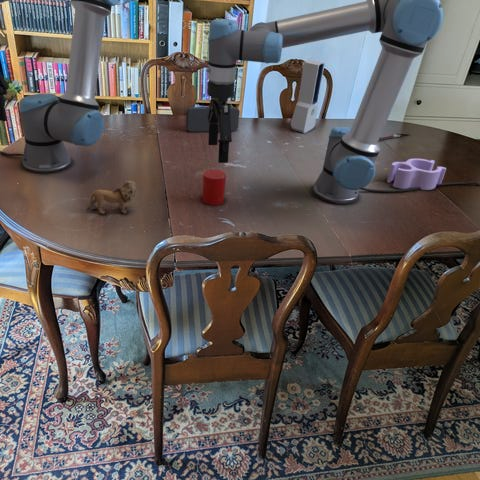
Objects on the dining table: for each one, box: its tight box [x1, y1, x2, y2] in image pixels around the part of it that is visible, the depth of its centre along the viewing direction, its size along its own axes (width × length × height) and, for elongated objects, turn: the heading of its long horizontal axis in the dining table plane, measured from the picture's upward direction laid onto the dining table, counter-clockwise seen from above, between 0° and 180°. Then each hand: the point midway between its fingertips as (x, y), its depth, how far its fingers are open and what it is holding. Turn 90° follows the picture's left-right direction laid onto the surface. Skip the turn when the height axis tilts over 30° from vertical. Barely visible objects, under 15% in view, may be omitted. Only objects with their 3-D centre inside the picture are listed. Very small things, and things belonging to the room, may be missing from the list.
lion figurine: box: [85, 180, 137, 215], centre depth 135 cm, size 15×5×9 cm, turn 110°
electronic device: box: [290, 58, 326, 134], centre depth 206 cm, size 12×8×30 cm, turn 148°
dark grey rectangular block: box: [185, 106, 241, 133], centre depth 199 cm, size 23×3×10 cm, turn 108°
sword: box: [378, 133, 409, 142], centre depth 213 cm, size 31×3×1 cm, turn 126°
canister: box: [201, 169, 227, 206], centre depth 147 cm, size 7×7×9 cm
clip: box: [386, 157, 447, 191], centre depth 173 cm, size 20×12×7 cm, turn 109°
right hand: (217, 153), depth 140 cm, fingers open, 13 cm apart
